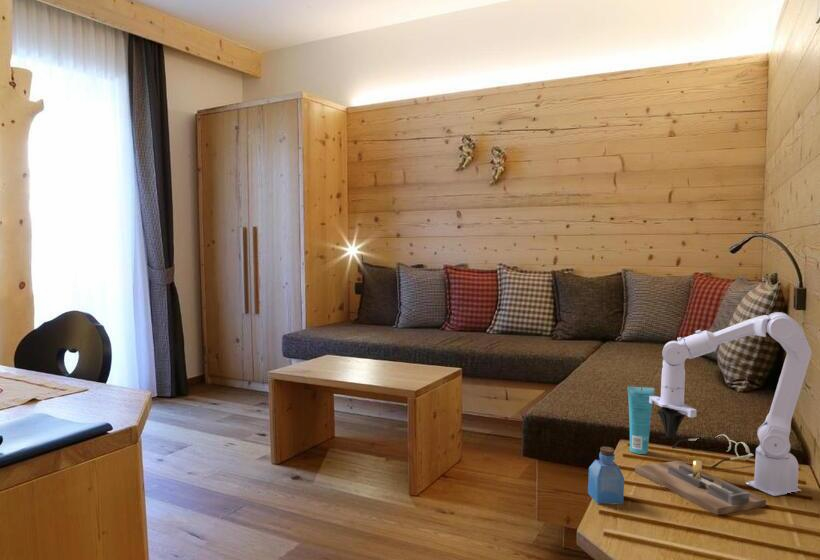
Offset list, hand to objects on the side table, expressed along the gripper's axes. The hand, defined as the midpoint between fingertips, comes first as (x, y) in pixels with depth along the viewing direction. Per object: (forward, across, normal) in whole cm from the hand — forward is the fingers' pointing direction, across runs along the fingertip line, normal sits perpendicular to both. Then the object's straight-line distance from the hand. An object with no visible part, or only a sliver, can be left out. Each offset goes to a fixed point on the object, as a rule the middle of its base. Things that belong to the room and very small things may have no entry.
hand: (670, 436), depth 155 cm
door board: (+9, +11, -2) cm, 15 cm away
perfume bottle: (+10, +9, -28) cm, 31 cm away
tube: (+10, -14, +3) cm, 18 cm away
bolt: (+8, +15, -2) cm, 17 cm away
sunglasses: (+10, -5, +21) cm, 24 cm away
